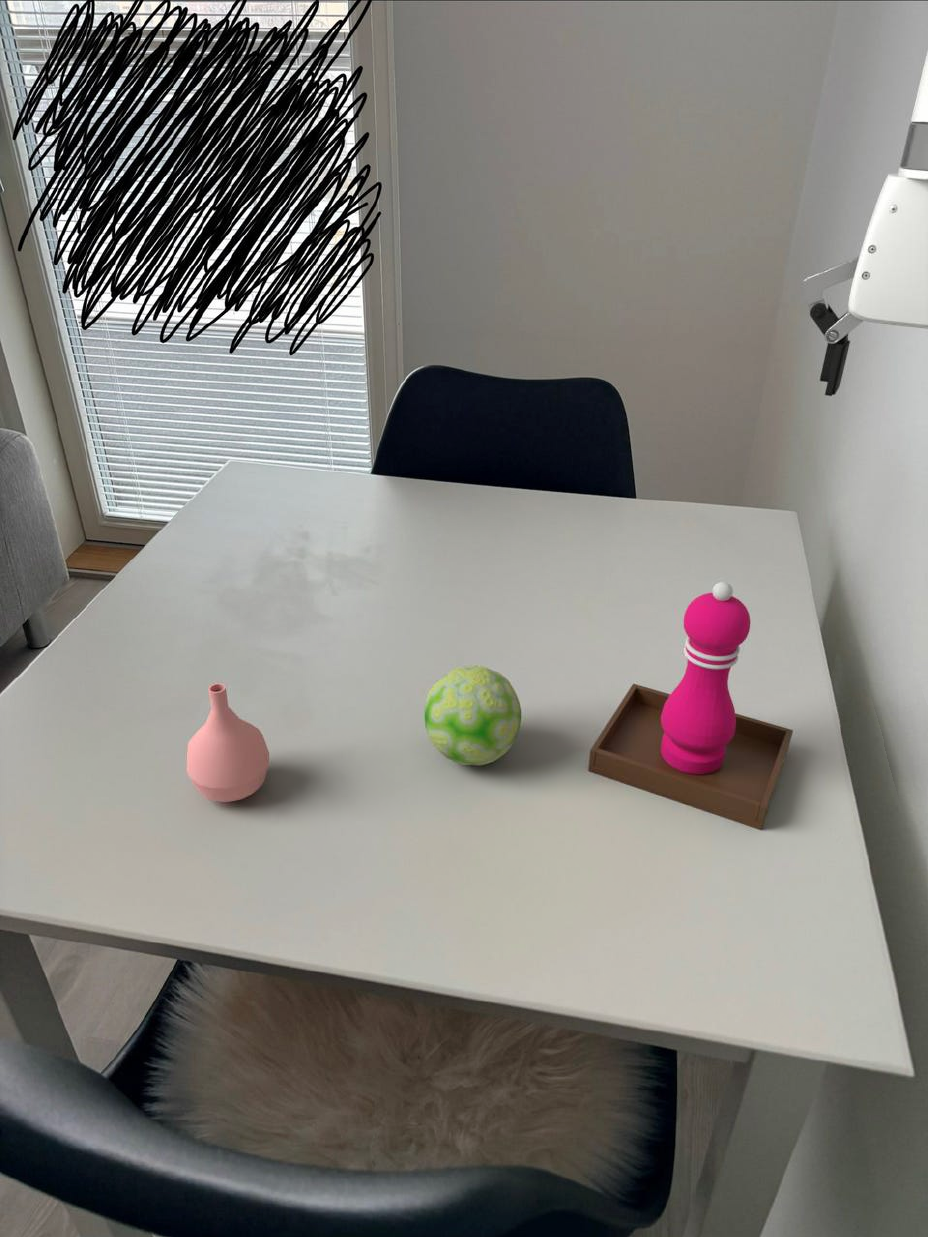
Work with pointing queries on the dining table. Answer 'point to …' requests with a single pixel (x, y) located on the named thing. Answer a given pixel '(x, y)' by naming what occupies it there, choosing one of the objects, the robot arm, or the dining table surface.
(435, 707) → the decorative ball
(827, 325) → the robot arm
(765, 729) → the tray
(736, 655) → the pepper mill
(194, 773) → the pink bulb vase
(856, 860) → the dining table surface
